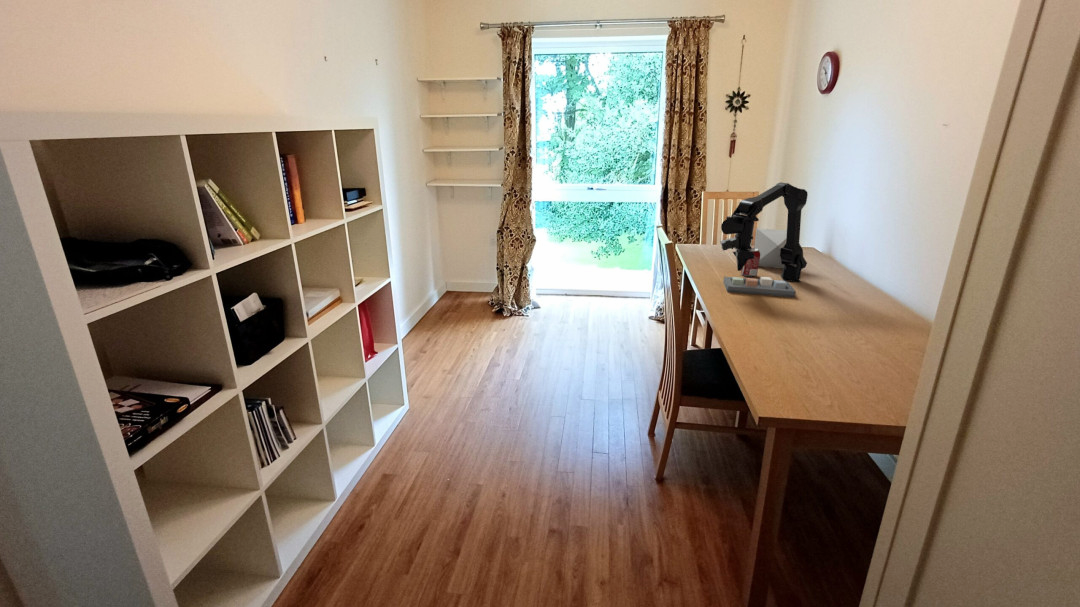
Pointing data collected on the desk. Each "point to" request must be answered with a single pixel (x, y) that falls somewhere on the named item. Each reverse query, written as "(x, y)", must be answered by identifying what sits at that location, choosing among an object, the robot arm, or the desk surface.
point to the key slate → (779, 284)
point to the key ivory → (766, 281)
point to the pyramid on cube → (770, 246)
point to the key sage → (737, 281)
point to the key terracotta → (751, 282)
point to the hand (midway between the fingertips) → (738, 270)
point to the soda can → (751, 264)
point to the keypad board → (758, 288)
